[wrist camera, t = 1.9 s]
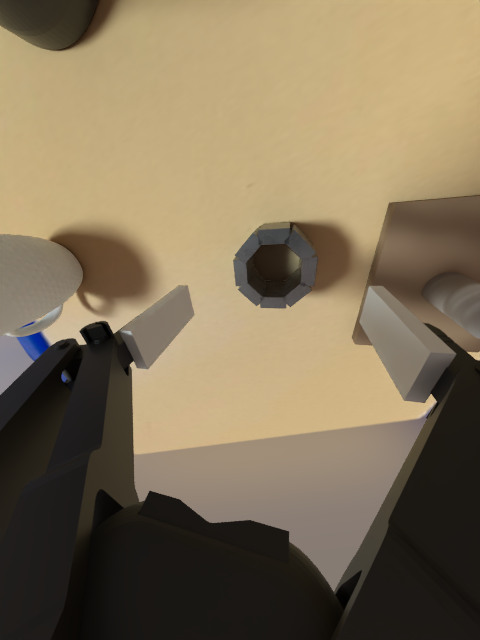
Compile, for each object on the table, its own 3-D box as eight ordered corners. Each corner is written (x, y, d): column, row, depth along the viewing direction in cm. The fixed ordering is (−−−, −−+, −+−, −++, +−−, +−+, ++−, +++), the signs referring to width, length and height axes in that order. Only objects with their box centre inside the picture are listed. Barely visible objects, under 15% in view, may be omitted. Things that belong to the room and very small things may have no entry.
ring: (241, 225, 22) (230, 231, 18) (315, 219, 20) (321, 225, 16) (246, 289, 26) (238, 307, 22) (307, 290, 24) (311, 309, 20)
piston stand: (389, 202, 18) (445, 205, 12) (577, 186, 15) (797, 178, 9) (351, 337, 26) (372, 383, 20) (468, 344, 24) (537, 401, 17)
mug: (102, 321, 36) (22, 373, 25) (48, 299, 36) (-54, 342, 25) (91, 243, 28) (-36, 271, 17) (21, 214, 28) (-150, 225, 17)
